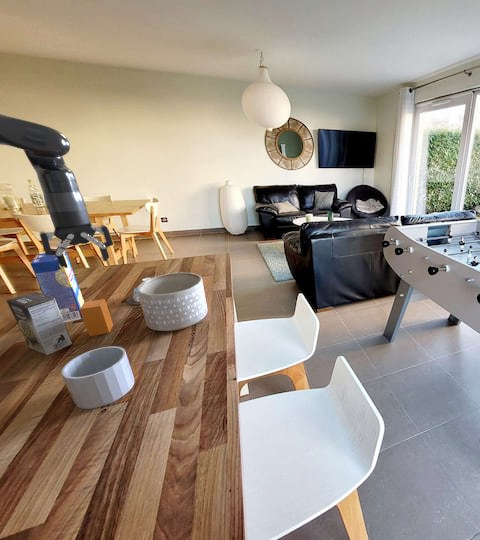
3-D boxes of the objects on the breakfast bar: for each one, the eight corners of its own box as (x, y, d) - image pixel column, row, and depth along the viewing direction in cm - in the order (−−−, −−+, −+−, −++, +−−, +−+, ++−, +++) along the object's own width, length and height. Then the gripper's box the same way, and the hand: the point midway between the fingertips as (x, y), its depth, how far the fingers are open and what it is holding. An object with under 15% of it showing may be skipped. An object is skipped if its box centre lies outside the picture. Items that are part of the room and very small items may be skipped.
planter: (211, 325, 99) (204, 288, 94) (145, 340, 90) (134, 300, 85) (205, 302, 114) (199, 269, 109) (148, 313, 105) (139, 277, 99)
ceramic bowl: (66, 415, 64) (52, 384, 61) (84, 381, 74) (72, 353, 70) (129, 399, 69) (119, 369, 66) (138, 369, 78) (129, 342, 75)
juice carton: (89, 336, 91) (79, 309, 87) (94, 328, 95) (84, 301, 91) (109, 332, 93) (100, 305, 89) (113, 325, 97) (104, 299, 93)
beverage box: (85, 305, 108) (65, 250, 100) (83, 318, 100) (61, 259, 92) (60, 311, 104) (37, 253, 96) (55, 324, 96) (30, 263, 88)
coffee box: (27, 348, 85) (4, 300, 78) (55, 336, 90) (35, 290, 84) (46, 356, 82) (23, 306, 76) (73, 343, 87) (54, 296, 81)
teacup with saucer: (163, 300, 114) (159, 282, 111) (125, 308, 107) (119, 289, 104) (162, 289, 123) (158, 272, 120) (127, 295, 117) (122, 277, 114)
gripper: (99, 203, 85) (114, 255, 91) (28, 208, 75) (50, 266, 81) (104, 207, 80) (119, 261, 86) (29, 213, 70) (53, 273, 76)
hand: (86, 263), depth 84 cm, fingers open, 8 cm apart
